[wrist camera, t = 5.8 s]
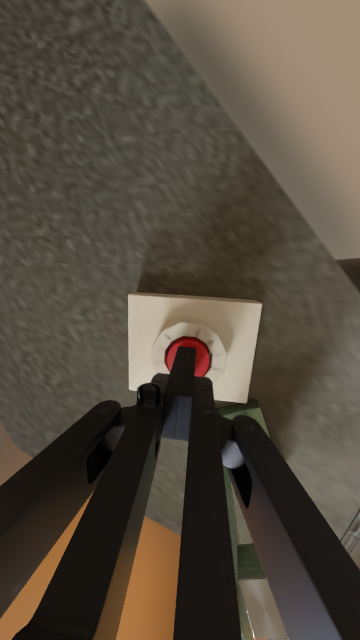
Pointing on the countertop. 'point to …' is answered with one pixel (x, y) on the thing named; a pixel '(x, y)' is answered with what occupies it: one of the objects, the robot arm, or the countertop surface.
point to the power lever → (258, 596)
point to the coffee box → (353, 541)
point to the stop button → (201, 353)
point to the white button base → (196, 321)
